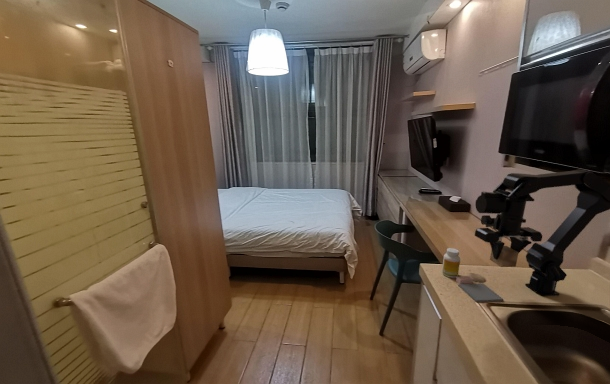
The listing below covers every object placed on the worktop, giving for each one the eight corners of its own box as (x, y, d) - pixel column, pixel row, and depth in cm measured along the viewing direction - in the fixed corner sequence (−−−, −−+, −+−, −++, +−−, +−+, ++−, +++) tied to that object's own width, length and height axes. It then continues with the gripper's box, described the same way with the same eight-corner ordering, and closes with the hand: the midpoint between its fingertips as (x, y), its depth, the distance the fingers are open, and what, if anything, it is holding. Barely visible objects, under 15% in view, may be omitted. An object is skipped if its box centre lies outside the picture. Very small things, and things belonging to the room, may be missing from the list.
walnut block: (503, 259, 94) (506, 245, 92) (515, 266, 89) (518, 252, 88) (489, 259, 93) (492, 246, 92) (501, 267, 88) (503, 252, 87)
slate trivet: (482, 284, 96) (483, 283, 95) (503, 300, 87) (503, 299, 87) (458, 285, 95) (458, 284, 95) (476, 302, 86) (476, 300, 86)
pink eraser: (468, 280, 98) (469, 275, 98) (472, 283, 97) (473, 278, 96) (455, 281, 98) (456, 276, 97) (459, 285, 96) (460, 279, 95)
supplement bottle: (459, 278, 99) (463, 254, 97) (443, 277, 100) (447, 252, 98) (455, 271, 104) (458, 247, 102) (439, 269, 105) (443, 246, 103)
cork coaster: (477, 274, 103) (477, 272, 103) (489, 283, 97) (489, 281, 97) (462, 274, 103) (462, 273, 103) (472, 283, 97) (473, 282, 97)
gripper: (518, 206, 95) (510, 247, 99) (467, 206, 94) (460, 248, 98) (548, 216, 85) (538, 262, 88) (491, 217, 83) (482, 264, 87)
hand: (503, 258), depth 91 cm, fingers closed on walnut block, 5 cm apart
